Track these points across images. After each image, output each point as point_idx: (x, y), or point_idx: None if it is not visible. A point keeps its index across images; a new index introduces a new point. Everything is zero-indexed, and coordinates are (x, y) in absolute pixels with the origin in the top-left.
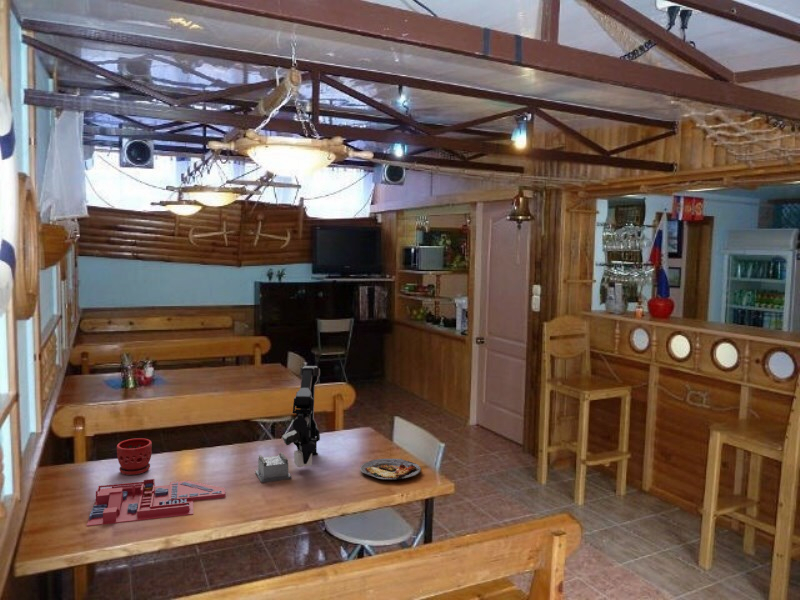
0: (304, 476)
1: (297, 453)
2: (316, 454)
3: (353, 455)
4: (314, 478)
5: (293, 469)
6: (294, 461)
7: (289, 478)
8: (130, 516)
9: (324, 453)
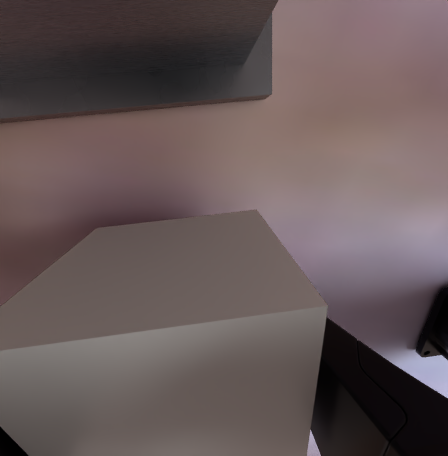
0: (44, 246)
1: (102, 355)
2: (417, 348)
3: (318, 451)
4: (2, 303)
5: (224, 185)
6: (244, 217)
7: None
8: None
9: (411, 374)
